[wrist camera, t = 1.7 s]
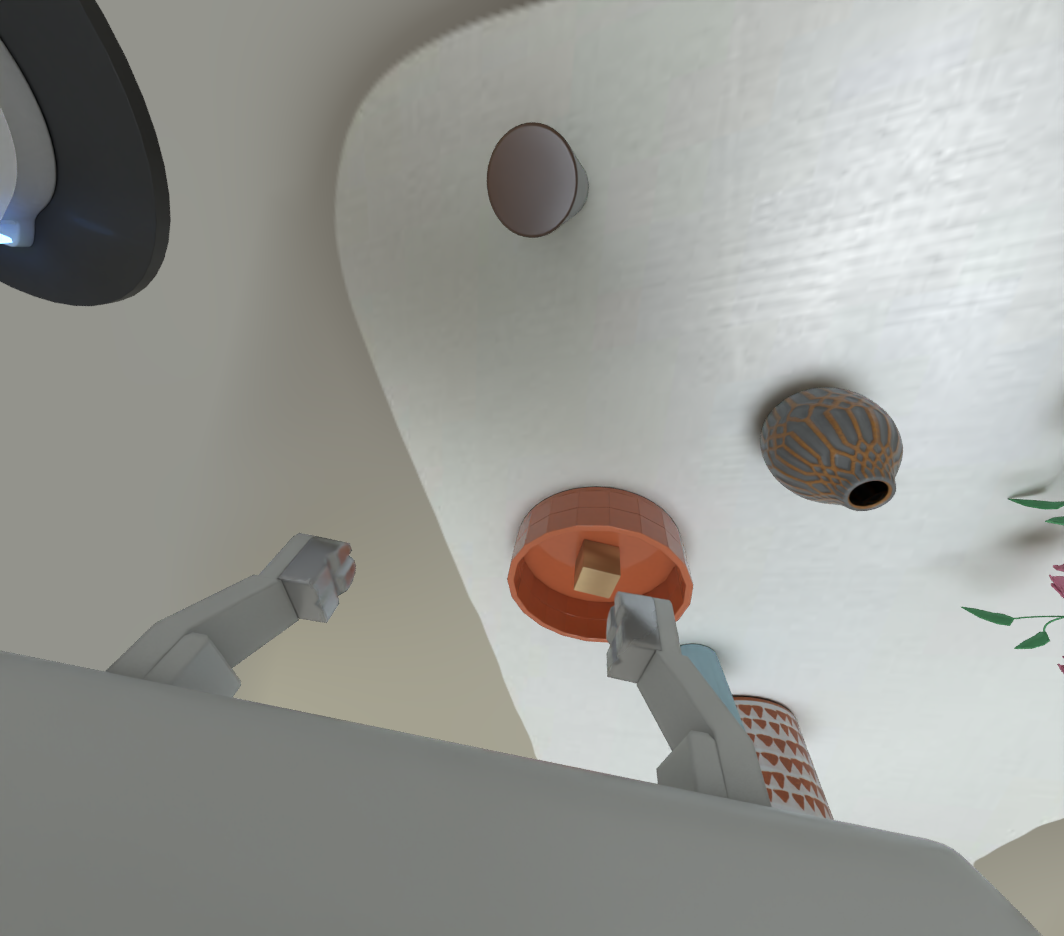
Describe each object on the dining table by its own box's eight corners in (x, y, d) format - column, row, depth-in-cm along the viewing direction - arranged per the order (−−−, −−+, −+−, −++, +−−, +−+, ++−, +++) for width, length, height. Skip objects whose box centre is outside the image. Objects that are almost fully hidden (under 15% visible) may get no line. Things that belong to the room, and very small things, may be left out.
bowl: (507, 580, 43) (497, 620, 39) (533, 468, 34) (524, 505, 30) (646, 614, 43) (651, 657, 39) (712, 510, 34) (727, 553, 30)
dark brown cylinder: (535, 212, 23) (481, 227, 12) (545, 153, 21) (491, 111, 11) (581, 223, 23) (566, 246, 12) (594, 164, 21) (588, 133, 11)
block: (575, 561, 39) (573, 590, 36) (584, 538, 37) (583, 567, 34) (608, 569, 39) (609, 599, 36) (619, 547, 37) (621, 576, 34)
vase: (733, 451, 30) (774, 530, 23) (773, 366, 26) (839, 430, 19) (824, 464, 30) (895, 549, 22) (880, 380, 25) (987, 451, 18)
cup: (734, 642, 44) (766, 748, 35) (718, 675, 48) (743, 777, 40) (665, 634, 45) (680, 735, 37) (656, 668, 49) (667, 765, 41)
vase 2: (780, 688, 48) (829, 822, 38) (806, 735, 54) (854, 863, 43) (672, 701, 54) (689, 821, 43) (706, 743, 59) (728, 857, 49)
